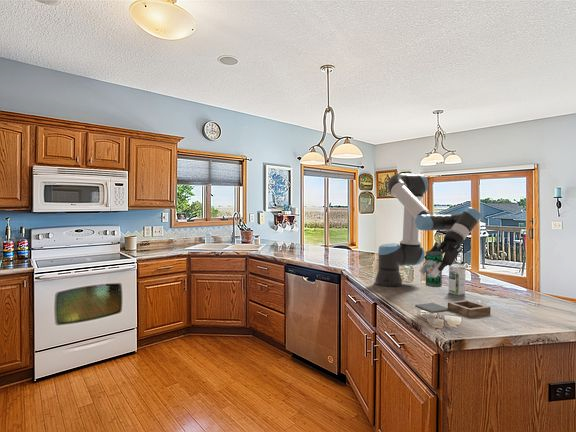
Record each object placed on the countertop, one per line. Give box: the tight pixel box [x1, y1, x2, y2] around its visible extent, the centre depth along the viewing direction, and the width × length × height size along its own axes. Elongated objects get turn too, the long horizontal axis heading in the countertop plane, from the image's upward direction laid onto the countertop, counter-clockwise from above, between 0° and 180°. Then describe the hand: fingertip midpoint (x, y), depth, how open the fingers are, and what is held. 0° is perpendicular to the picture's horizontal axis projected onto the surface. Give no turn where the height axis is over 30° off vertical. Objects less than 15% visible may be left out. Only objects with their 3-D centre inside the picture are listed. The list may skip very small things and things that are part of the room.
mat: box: [414, 302, 451, 314], centre depth 145 cm, size 10×10×1 cm
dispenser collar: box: [447, 299, 491, 318], centre depth 140 cm, size 11×11×3 cm
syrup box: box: [448, 264, 466, 296], centre depth 170 cm, size 6×6×14 cm
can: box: [425, 250, 443, 288], centre depth 144 cm, size 6×6×15 cm
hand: (427, 274), depth 143 cm, fingers closed on can, 6 cm apart
